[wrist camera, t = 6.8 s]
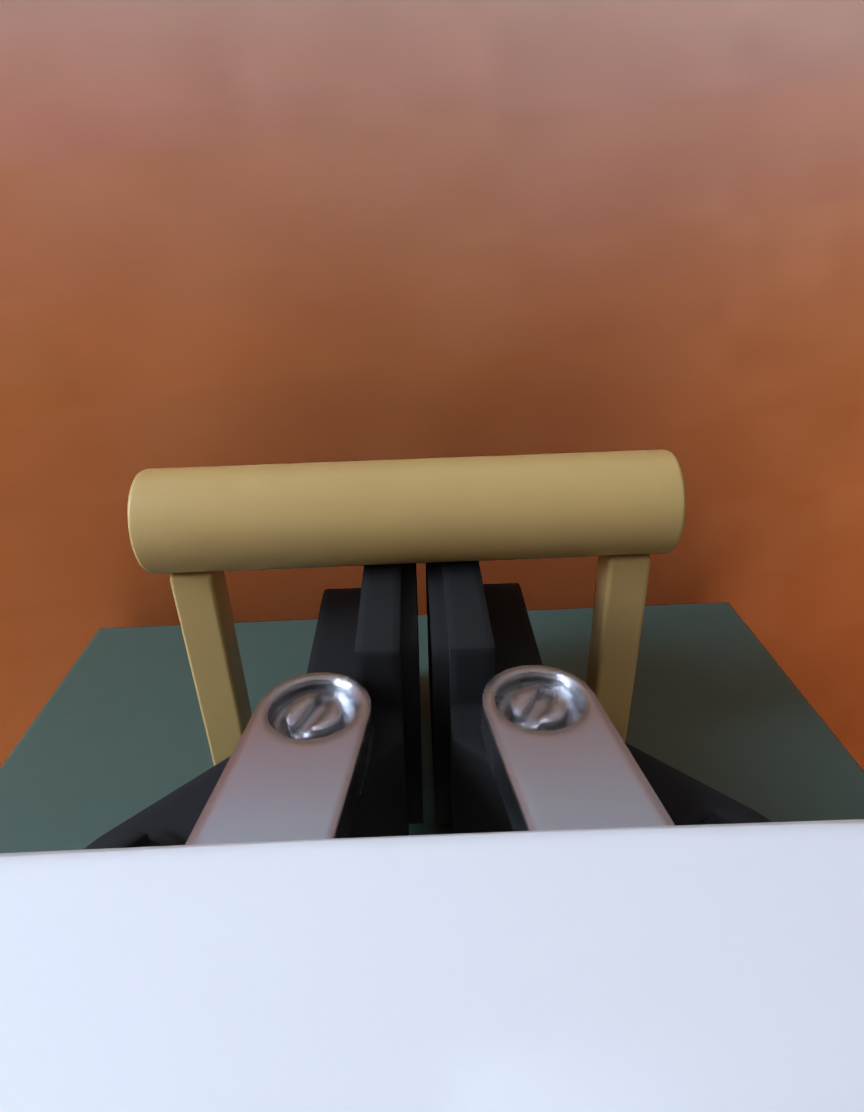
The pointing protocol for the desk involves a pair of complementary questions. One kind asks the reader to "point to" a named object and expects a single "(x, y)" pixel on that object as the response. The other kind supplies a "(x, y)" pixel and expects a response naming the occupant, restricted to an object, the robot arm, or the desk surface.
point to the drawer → (418, 537)
